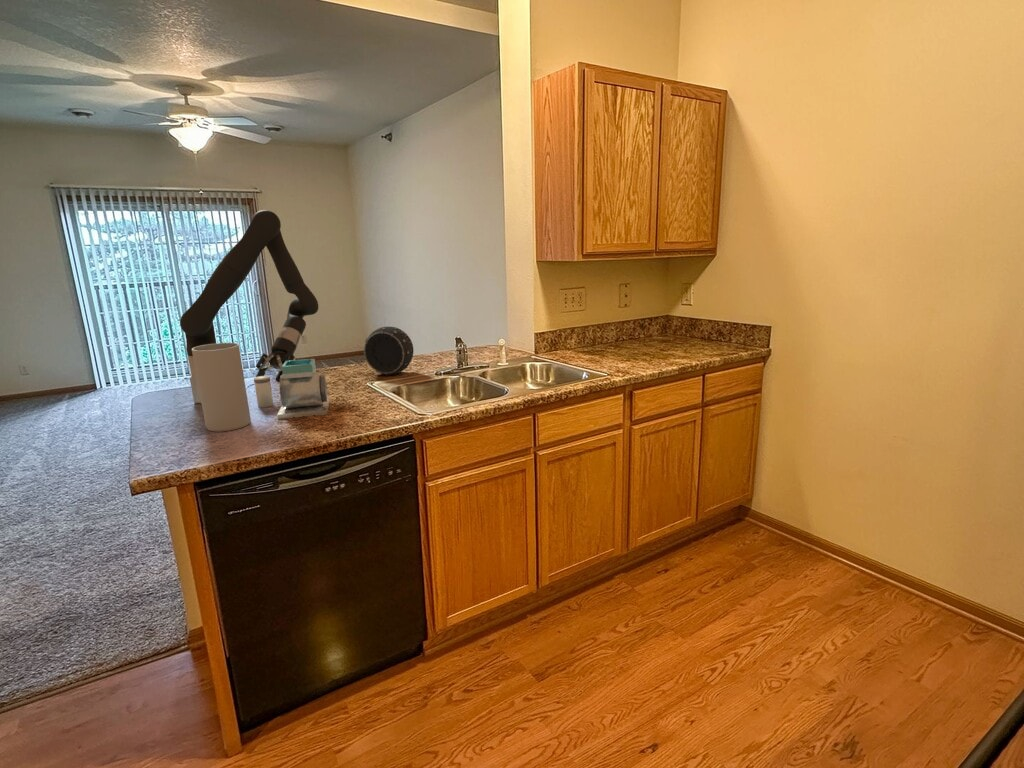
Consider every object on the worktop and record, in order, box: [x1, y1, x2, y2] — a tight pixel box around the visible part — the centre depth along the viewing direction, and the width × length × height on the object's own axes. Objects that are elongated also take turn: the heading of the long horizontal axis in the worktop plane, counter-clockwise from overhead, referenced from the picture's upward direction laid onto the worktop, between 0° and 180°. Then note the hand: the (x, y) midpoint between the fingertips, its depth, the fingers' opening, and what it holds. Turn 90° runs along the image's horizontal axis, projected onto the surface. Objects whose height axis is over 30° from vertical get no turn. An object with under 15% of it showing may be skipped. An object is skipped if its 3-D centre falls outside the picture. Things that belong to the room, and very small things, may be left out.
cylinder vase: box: [192, 342, 252, 433], centre depth 166 cm, size 12×12×25 cm
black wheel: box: [363, 326, 414, 376], centre depth 227 cm, size 11×20×20 cm, turn 78°
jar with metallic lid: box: [253, 375, 274, 409], centre depth 188 cm, size 5×5×10 cm
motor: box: [276, 358, 330, 420], centre depth 180 cm, size 15×14×16 cm
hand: (268, 380), depth 189 cm, fingers open, 8 cm apart
